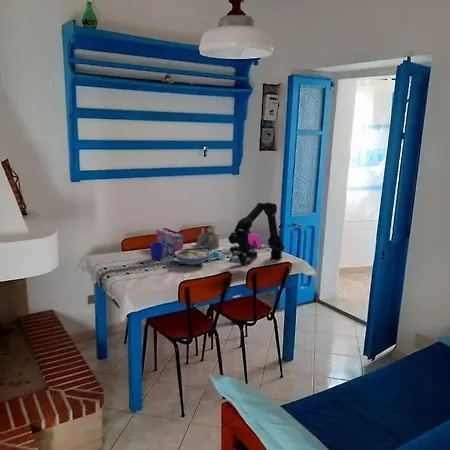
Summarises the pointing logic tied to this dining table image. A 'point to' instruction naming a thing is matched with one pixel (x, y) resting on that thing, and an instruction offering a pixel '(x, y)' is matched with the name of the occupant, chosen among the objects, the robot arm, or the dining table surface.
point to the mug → (157, 251)
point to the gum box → (170, 240)
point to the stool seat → (245, 261)
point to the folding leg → (236, 259)
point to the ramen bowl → (192, 255)
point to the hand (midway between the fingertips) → (243, 264)
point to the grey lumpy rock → (208, 238)
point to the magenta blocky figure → (254, 240)
